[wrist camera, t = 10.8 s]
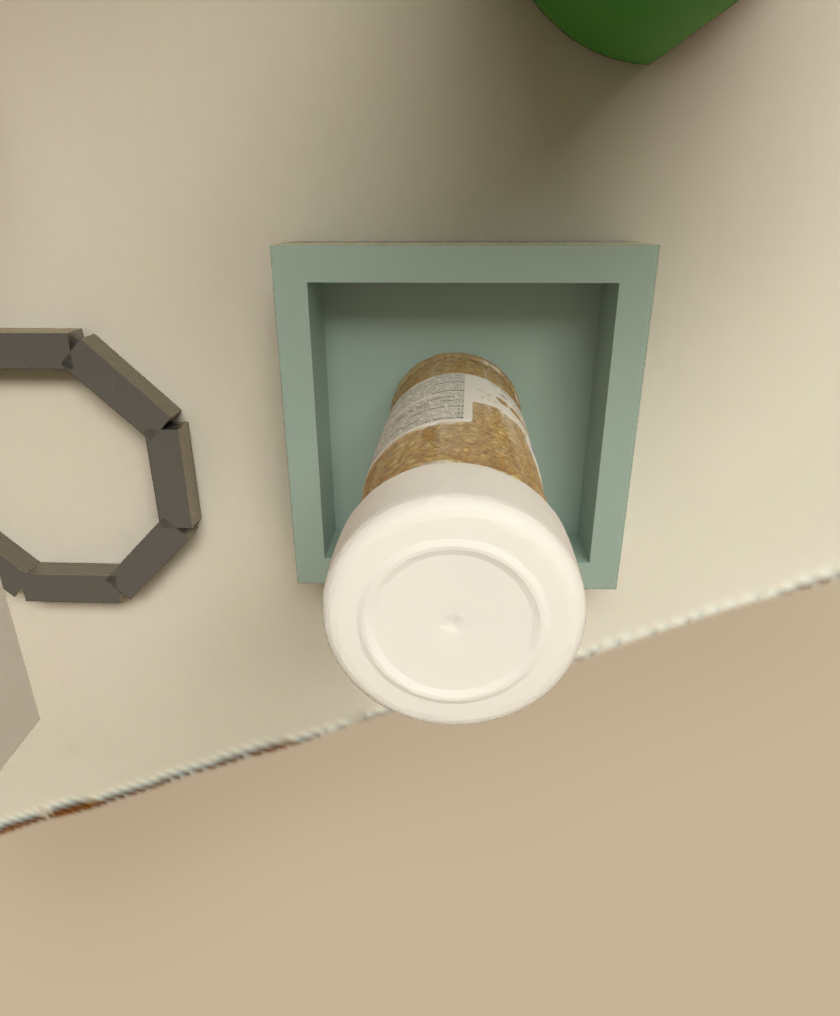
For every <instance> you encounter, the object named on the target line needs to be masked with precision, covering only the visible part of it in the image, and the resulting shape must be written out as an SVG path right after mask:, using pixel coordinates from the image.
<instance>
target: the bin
mask: <svg viewBox="0 0 840 1016" xmlns="http://www.w3.org/2000/svg"><path fill="white" fill-rule="evenodd" d="M659 248H660V246H659V245H653V244H646V243H639V242H289V243H283V244H277V245H271V246H270V252H271V264H272V276H273V289H274V301H275V313H276V325H277V337H278V349H279V362H280V374H281V386H282V398H283V410H284V422H285V435H286V447H287V459H288V471H289V483H290V495H291V508H292V520H293V532H294V544H295V556H296V569H297V581H298V583H325V580H326V576H327V573H328V569H329V566H330V562H331V559H332V556H333V553H334V550H335V547H336V544H337V542H338V539H339V537H340V535H341V532H342V530H343V527H344V526H345V524H346V522H347V520H348V518H349V517H350V515H351V514H352V512H353V511H354V510H355V508H356V507H357V506H358V505H359V504H360V502H361V499H362V492H363V487H364V483H365V480H366V477H367V474H368V471H369V468H370V465H371V462H372V460H373V457H374V454H375V451H376V448H377V445H378V442H379V440H380V437H381V434H382V431H383V429H384V426H385V423H386V420H387V418H388V415H389V413H390V410H391V404H392V399H393V397H394V394H395V392H396V390H397V387H398V385H399V383H400V381H401V380H402V379H403V377H404V376H405V375H406V374H407V373H408V372H409V371H410V369H412V368H413V367H414V366H416V365H417V364H419V363H420V362H422V361H423V360H426V359H428V358H431V357H433V356H435V355H437V354H440V353H453V352H455V353H468V354H471V355H476V356H479V357H482V358H484V359H486V360H488V361H490V362H491V363H493V364H495V365H496V366H497V367H498V368H499V369H501V370H502V372H503V373H504V374H505V375H506V376H507V377H508V379H509V380H510V381H511V383H512V384H513V386H514V388H515V390H516V392H517V395H518V398H519V401H520V406H521V414H522V416H523V419H524V422H525V425H526V429H527V432H528V435H529V439H530V442H531V445H532V448H533V451H534V455H535V458H536V461H537V464H538V468H539V472H540V476H541V481H542V486H543V492H544V495H545V498H546V501H547V503H548V505H549V506H550V507H551V508H552V509H553V510H554V512H555V513H556V515H557V516H558V518H559V519H560V521H561V523H562V524H563V527H564V529H565V531H566V533H567V535H568V538H569V540H570V543H571V546H572V549H573V552H574V554H575V557H576V560H577V563H578V567H579V571H580V574H581V578H582V581H583V585H584V589H616V588H617V580H618V572H619V564H620V556H621V548H622V540H623V532H624V524H625V517H626V509H627V501H628V493H629V485H630V477H631V469H632V461H633V453H634V445H635V437H636V430H637V422H638V414H639V406H640V398H641V390H642V382H643V374H644V366H645V358H646V350H647V342H648V335H649V327H650V319H651V311H652V303H653V295H654V287H655V279H656V271H657V263H658V255H659Z"/></svg>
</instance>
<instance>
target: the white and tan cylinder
mask: <svg viewBox="0 0 840 1016" xmlns="http://www.w3.org/2000/svg"><path fill="white" fill-rule="evenodd" d="M322 615H323V626H324V630H325V634H326V637H327V640H328V644H329V646H330V648H331V651H332V653H333V654H334V656H335V658H336V660H337V662H338V664H339V665H340V667H341V668H342V669H343V671H344V672H345V674H346V675H347V676H348V677H349V678H350V680H351V681H352V682H353V683H354V684H355V685H356V686H357V687H358V688H359V689H360V690H361V691H363V692H364V693H365V694H366V695H368V696H369V697H370V698H372V699H373V700H374V701H376V702H377V703H379V704H381V705H383V706H384V707H386V708H388V709H390V710H392V711H394V712H396V713H399V714H401V715H404V716H407V717H409V718H413V719H417V720H421V721H425V722H430V723H437V724H450V725H461V724H474V723H481V722H486V721H490V720H495V719H498V718H501V717H504V716H507V715H509V714H512V713H514V712H517V711H519V710H520V709H522V708H524V707H526V706H528V705H530V704H531V703H533V702H534V701H535V700H537V699H539V698H540V697H541V696H543V695H544V694H545V693H547V691H549V690H550V689H551V688H552V687H553V686H554V685H555V684H556V683H557V681H558V680H559V679H560V678H561V677H562V675H563V674H564V673H565V672H566V670H567V669H568V668H569V666H570V664H571V663H572V661H573V659H574V657H575V655H576V652H577V650H578V648H579V646H580V642H581V639H582V636H583V633H584V627H585V619H586V596H585V591H584V585H583V581H582V578H581V574H580V571H579V567H578V563H577V560H576V557H575V554H574V552H573V549H572V546H571V543H570V540H569V538H568V535H567V533H566V531H565V529H564V527H563V524H562V523H561V521H560V519H559V518H558V516H557V515H556V513H555V512H554V510H553V509H552V508H551V507H550V506H549V505H548V503H547V501H546V498H545V495H544V492H543V486H542V481H541V476H540V472H539V468H538V464H537V461H536V458H535V455H534V451H533V448H532V445H531V442H530V439H529V435H528V432H527V429H526V425H525V422H524V419H523V416H522V414H521V406H520V401H519V398H518V395H517V392H516V390H515V388H514V386H513V384H512V383H511V381H510V380H509V379H508V377H507V376H506V375H505V374H504V373H503V372H502V370H501V369H499V368H498V367H497V366H496V365H495V364H493V363H491V362H490V361H488V360H486V359H484V358H482V357H479V356H476V355H471V354H468V353H455V352H453V353H440V354H437V355H435V356H433V357H431V358H428V359H426V360H423V361H422V362H420V363H419V364H417V365H416V366H414V367H413V368H412V369H410V371H409V372H408V373H407V374H406V375H405V376H404V377H403V379H402V380H401V381H400V383H399V385H398V387H397V390H396V392H395V394H394V397H393V399H392V404H391V410H390V413H389V415H388V418H387V420H386V423H385V426H384V429H383V431H382V434H381V437H380V440H379V442H378V445H377V448H376V451H375V454H374V457H373V460H372V462H371V465H370V468H369V471H368V474H367V477H366V480H365V483H364V487H363V492H362V499H361V502H360V504H359V505H358V506H357V507H356V508H355V510H354V511H353V512H352V514H351V515H350V517H349V518H348V520H347V522H346V524H345V526H344V527H343V530H342V532H341V535H340V537H339V539H338V542H337V544H336V547H335V550H334V553H333V556H332V559H331V562H330V566H329V569H328V573H327V576H326V580H325V583H324V589H323V597H322Z"/></svg>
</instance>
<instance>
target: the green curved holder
mask: <svg viewBox="0 0 840 1016" xmlns="http://www.w3.org/2000/svg"><path fill="white" fill-rule="evenodd" d="M534 1H535V3H536V4H537V5H538V6H539V8H540V9H541V10H542V11H543V12H544V13H545V15H546V16H547V17H548V18H549V19H550V20H551V21H552V22H553V23H554V24H555V25H556V26H557V27H559V28H560V29H561V30H562V31H563V32H565V33H566V34H567V35H568V36H570V37H571V38H573V39H574V40H576V41H577V42H579V43H580V44H582V45H584V46H586V47H587V48H589V49H591V50H593V51H595V52H598V53H600V54H602V55H605V56H608V57H611V58H613V59H617V60H621V61H625V62H631V63H636V64H647V65H649V64H650V63H652V62H653V61H655V60H656V59H657V58H659V57H660V56H662V55H663V54H664V53H666V52H667V51H669V50H670V49H671V48H673V47H674V46H676V45H677V44H678V43H680V42H681V41H683V40H684V39H685V38H687V37H688V36H690V35H691V34H692V33H694V32H695V31H697V30H698V29H699V28H701V27H702V26H704V25H705V24H706V23H708V22H709V21H711V20H712V19H713V18H715V17H716V16H718V15H719V14H720V13H722V12H723V11H725V10H726V9H727V8H729V7H730V6H732V5H733V4H734V3H736V2H737V1H739V0H534Z"/></svg>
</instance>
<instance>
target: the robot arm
mask: <svg viewBox="0 0 840 1016" xmlns="http://www.w3.org/2000/svg"><path fill="white" fill-rule="evenodd" d="M39 720H40V717H39V714H38V710H37V707H36V703H35V699H34V696H33V692H32V689H31V685H30V682H29V678H28V674H27V671H26V667H25V664H24V660H23V657H22V653H21V650H20V646H19V642H18V639H17V635H16V632H15V628H14V625H13V621H12V617H11V614H10V610H9V607H8V603H7V600H6V596H5V592H4V589H3V585H2V582H1V578H0V770H1V769H2V767H3V766H4V765H5V763H6V762H7V761H8V760H9V758H10V757H11V756H12V754H13V753H14V752H15V751H16V749H17V748H18V747H19V745H20V744H21V743H22V742H23V740H24V739H25V738H26V737H27V735H28V734H29V733H30V731H31V730H32V729H33V728H34V726H35V725H36V724H37V722H38V721H39Z"/></svg>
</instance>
